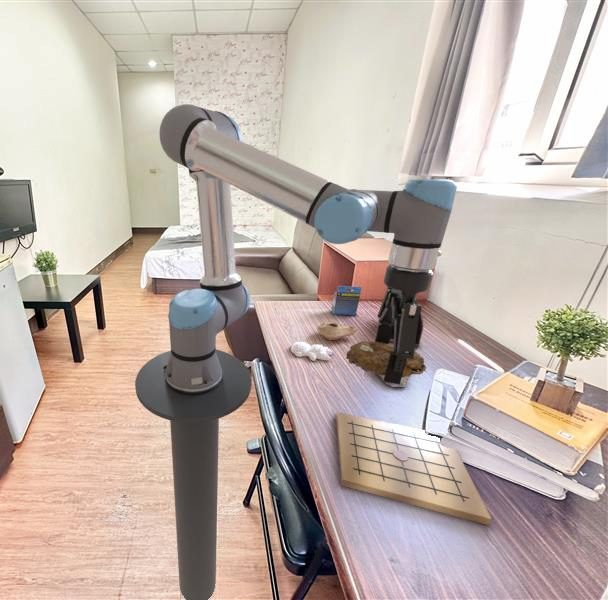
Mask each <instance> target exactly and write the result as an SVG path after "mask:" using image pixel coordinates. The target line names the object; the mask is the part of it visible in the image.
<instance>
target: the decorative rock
mask: <svg viewBox="0 0 608 600" xmlns="http://www.w3.org/2000/svg"><path fill="white" fill-rule="evenodd" d="M393 345H394V344H393V343H389V344H386V343H379V342H375V341H372V340H366V341H365V340H361V341H359V342H358V343H355V344H352V345H351V346H350V348H349V350H347V351H346V357H345V359H346V360H348V364H351V365H355V367H358V368H360V369H361V370H362V371H364V372H366V373H368V372H371V373H372V374H373V375H374V376H375V375H377V376H378V375H385V372H386V368H387V364H388V361H389V357H390V355H389V351H393ZM424 372H425V373H427V366H426V364H425V358H424V357H423V356H421V354H420V353H417V352H416V351H414V358H413V359H407V361H406V364H405V368H404V371H403V375H402V377H403V378H404V377H407V376H408V377H410V376H412V375H422V374H423V373H424Z"/></svg>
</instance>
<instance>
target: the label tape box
mask: <svg viewBox="0 0 608 600" xmlns="http://www.w3.org/2000/svg"><path fill="white" fill-rule="evenodd" d="M361 293H362V286H347V285H346V286H345V285H338V286H337V291H336V292H334V293H333V299H332V304H331V309H330V311H331V313H332V314H333V315H337V316H356V315H357V311H358V308H359V303H360V299H361Z"/></svg>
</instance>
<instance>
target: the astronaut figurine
mask: <svg viewBox="0 0 608 600" xmlns="http://www.w3.org/2000/svg"><path fill="white" fill-rule="evenodd" d="M290 351H291V353H292V354H294V355H295V356H296V357H298V358H302V357H308V358H309V360H311V361H312V362H315V361H316V359H317V360H321V361H330V359H331V356H330V355H332V352H333V351H332V350H331V349H330V348H329V347H327V346H323V344H316V343H315V344H313V345H310V344H309V343H307V342H306V341H297V342H294V343H292V345H291V347H290Z"/></svg>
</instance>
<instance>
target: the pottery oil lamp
mask: <svg viewBox="0 0 608 600" xmlns="http://www.w3.org/2000/svg"><path fill="white" fill-rule="evenodd" d="M317 332H318V333H319V334H320V335H322V336H323V337H324V338H325V339H327V340H329V341H337V340H339V339H341V338H346V337H350V336H353V335H355V334H356V333H357V328H356V327H355V326H352V325H347V324H343V323H337V322H332V321H325V322H323V323H320V324H319V325H318V326H317Z"/></svg>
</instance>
